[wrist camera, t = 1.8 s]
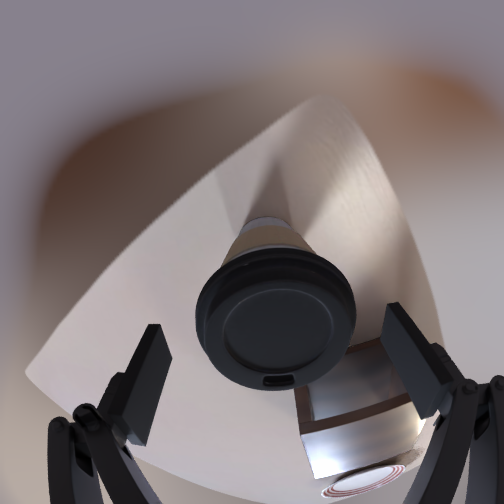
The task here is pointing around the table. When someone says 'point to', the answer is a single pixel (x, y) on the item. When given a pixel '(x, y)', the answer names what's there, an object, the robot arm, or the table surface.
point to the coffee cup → (275, 310)
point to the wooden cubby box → (356, 413)
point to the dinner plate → (363, 481)
